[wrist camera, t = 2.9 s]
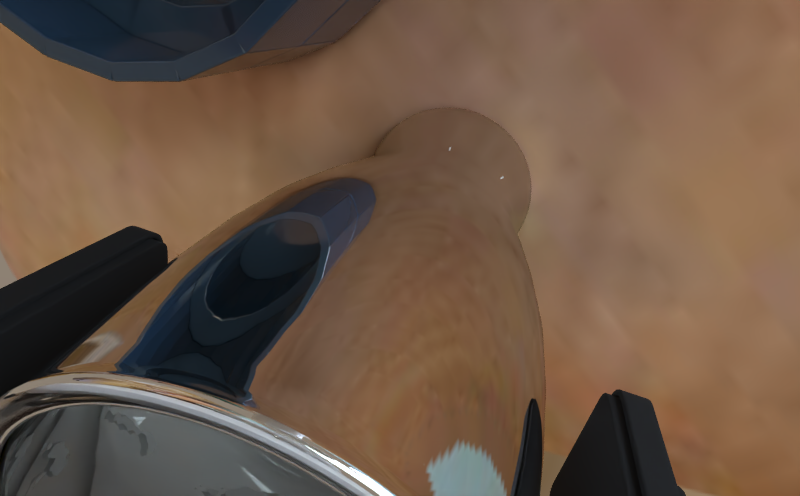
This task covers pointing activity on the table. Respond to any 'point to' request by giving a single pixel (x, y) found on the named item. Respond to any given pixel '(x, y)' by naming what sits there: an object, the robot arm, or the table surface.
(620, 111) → the table surface
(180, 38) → the dark blue bowl
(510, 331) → the silver metal tumbler
